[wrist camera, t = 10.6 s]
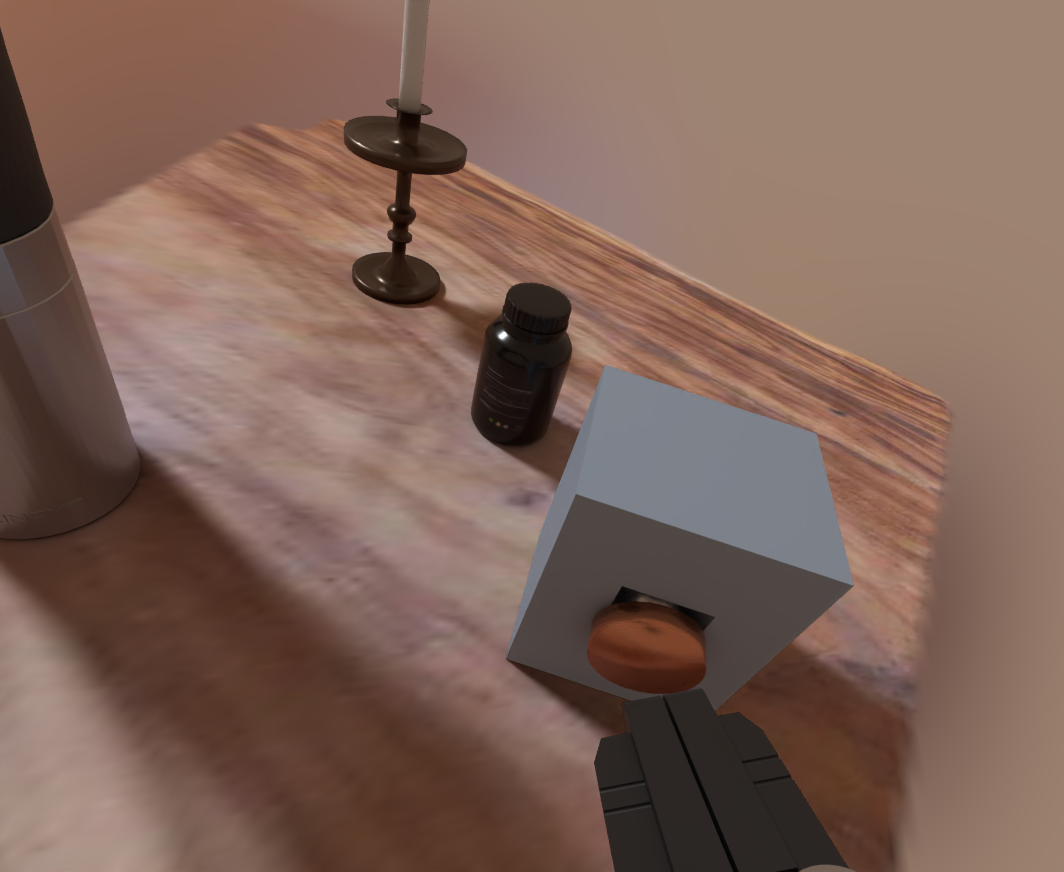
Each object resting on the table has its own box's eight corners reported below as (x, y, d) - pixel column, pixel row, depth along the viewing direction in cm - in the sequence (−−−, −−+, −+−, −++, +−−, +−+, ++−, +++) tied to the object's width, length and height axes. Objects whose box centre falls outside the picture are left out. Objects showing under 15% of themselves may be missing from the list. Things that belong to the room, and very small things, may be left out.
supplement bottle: (487, 384, 52) (514, 264, 44) (557, 413, 51) (597, 296, 43) (455, 428, 47) (478, 301, 39) (531, 461, 46) (571, 338, 38)
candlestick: (414, 321, 56) (466, -189, 33) (320, 280, 58) (308, -236, 35) (464, 281, 64) (535, -154, 41) (381, 246, 66) (404, -193, 43)
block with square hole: (700, 724, 33) (853, 585, 23) (505, 658, 34) (575, 494, 24) (700, 583, 41) (816, 433, 31) (540, 530, 41) (605, 364, 31)
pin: (677, 705, 29) (727, 655, 25) (573, 670, 29) (607, 615, 26) (684, 455, 44) (716, 400, 40) (615, 432, 44) (640, 375, 40)
